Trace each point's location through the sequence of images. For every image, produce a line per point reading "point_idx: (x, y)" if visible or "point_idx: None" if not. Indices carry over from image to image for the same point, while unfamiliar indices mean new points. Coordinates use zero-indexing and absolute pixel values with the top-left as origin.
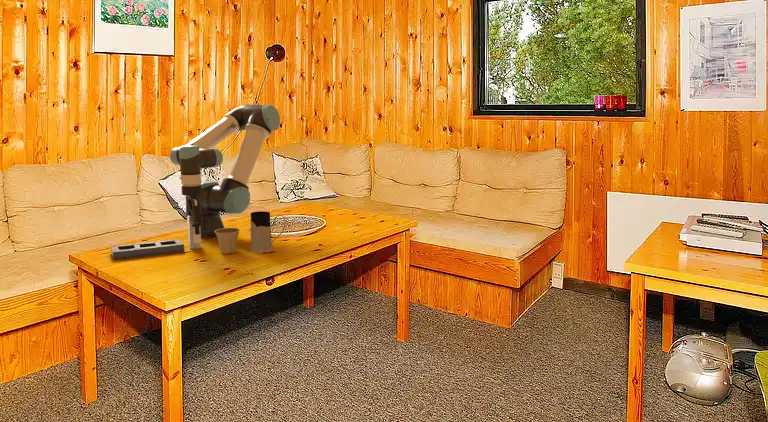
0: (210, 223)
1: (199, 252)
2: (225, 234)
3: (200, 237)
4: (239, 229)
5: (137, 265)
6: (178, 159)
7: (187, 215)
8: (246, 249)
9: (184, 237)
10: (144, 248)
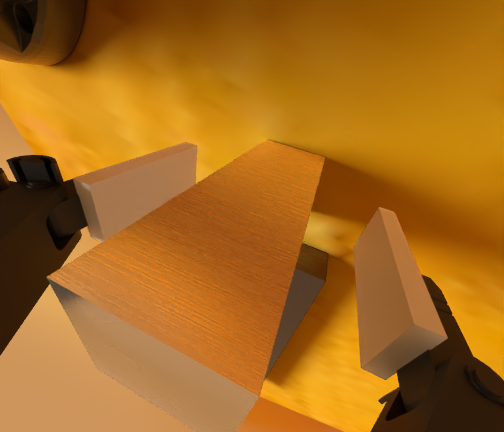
0: None
1: (417, 220)
2: None
3: (401, 235)
4: None
5: (363, 400)
6: None
7: (98, 368)
8: None
9: (77, 111)
10: (270, 364)
